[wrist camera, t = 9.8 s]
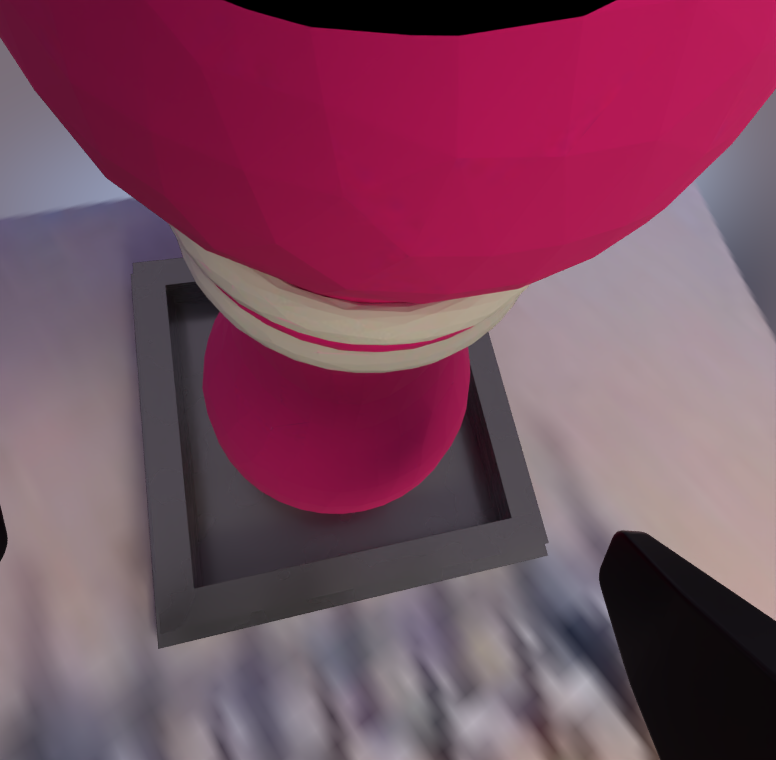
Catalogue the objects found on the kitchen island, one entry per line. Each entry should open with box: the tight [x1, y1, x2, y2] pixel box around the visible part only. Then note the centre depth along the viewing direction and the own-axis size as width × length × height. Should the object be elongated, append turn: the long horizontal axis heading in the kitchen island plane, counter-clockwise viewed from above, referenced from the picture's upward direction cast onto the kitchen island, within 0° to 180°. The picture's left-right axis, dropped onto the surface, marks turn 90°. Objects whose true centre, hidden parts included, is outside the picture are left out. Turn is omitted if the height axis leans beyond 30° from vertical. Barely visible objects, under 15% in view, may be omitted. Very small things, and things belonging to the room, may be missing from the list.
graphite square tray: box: [131, 258, 549, 649], centre depth 19 cm, size 13×13×2 cm
